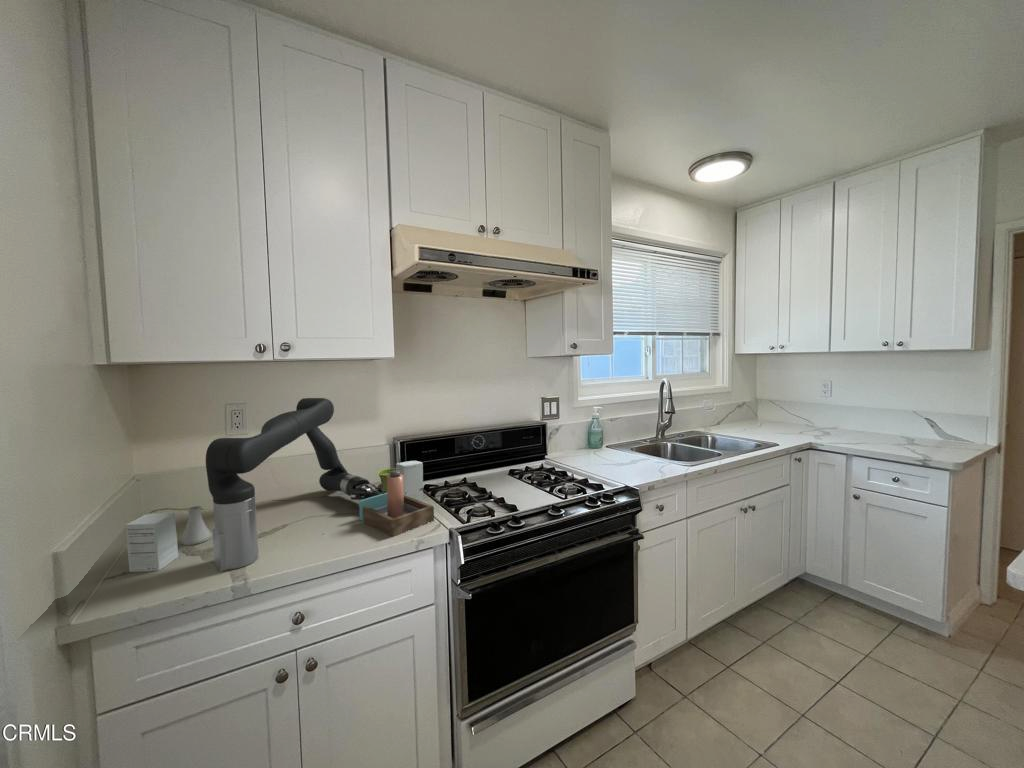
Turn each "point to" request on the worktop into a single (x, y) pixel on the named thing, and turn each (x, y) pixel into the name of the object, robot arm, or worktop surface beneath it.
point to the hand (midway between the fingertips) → (380, 496)
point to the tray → (381, 505)
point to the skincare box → (412, 478)
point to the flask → (195, 528)
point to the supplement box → (151, 542)
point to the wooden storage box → (400, 518)
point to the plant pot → (385, 477)
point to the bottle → (395, 494)
